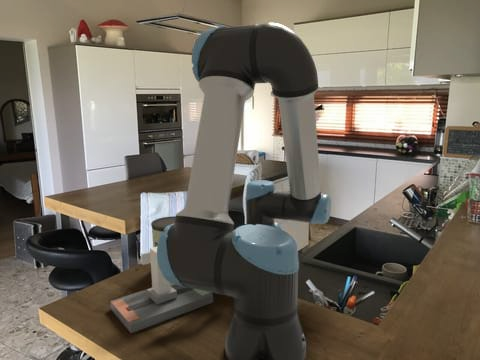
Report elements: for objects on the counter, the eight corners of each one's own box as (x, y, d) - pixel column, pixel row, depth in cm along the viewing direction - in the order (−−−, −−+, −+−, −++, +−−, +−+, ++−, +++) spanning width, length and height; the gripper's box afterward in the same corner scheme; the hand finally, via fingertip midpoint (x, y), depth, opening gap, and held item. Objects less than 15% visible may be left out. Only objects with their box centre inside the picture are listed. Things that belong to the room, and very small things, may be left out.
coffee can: (196, 263, 113) (194, 216, 110) (184, 279, 103) (181, 228, 100) (162, 261, 115) (160, 215, 112) (148, 276, 105) (144, 226, 102)
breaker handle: (177, 297, 89) (174, 249, 87) (156, 304, 86) (153, 255, 84) (167, 289, 93) (164, 243, 91) (147, 295, 90) (144, 248, 88)
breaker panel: (213, 302, 91) (213, 294, 91) (131, 333, 80) (130, 324, 79) (187, 283, 101) (187, 276, 100) (110, 309, 89) (110, 300, 88)
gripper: (262, 277, 91) (181, 306, 79) (205, 246, 111) (133, 266, 98) (262, 247, 89) (180, 272, 77) (204, 221, 109) (131, 237, 97)
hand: (154, 268), depth 88 cm, fingers open, 13 cm apart
